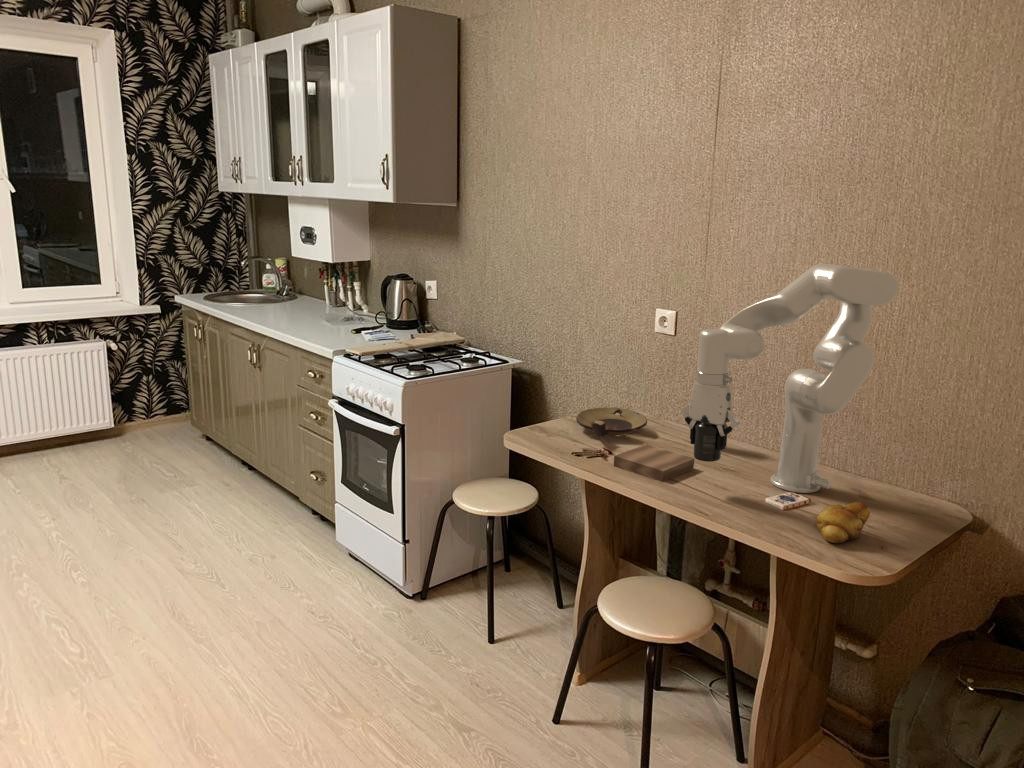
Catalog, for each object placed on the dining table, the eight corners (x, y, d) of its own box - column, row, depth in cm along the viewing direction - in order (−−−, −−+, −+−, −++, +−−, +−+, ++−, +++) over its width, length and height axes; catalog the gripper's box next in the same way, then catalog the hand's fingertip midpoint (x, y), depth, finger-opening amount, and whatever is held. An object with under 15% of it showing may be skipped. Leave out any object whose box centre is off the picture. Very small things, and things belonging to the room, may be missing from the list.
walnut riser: (693, 468, 211) (694, 458, 211) (662, 481, 200) (663, 471, 199) (645, 454, 222) (646, 444, 221) (613, 465, 211) (614, 455, 210)
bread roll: (845, 551, 163) (850, 517, 161) (802, 536, 170) (807, 503, 168) (869, 535, 172) (874, 502, 170) (827, 521, 178) (832, 490, 177)
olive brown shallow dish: (660, 432, 245) (662, 410, 243) (603, 451, 224) (605, 426, 222) (605, 417, 260) (607, 396, 258) (548, 433, 239) (549, 410, 237)
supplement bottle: (725, 457, 193) (728, 412, 190) (712, 464, 188) (715, 418, 185) (701, 451, 198) (703, 407, 195) (688, 458, 193) (690, 413, 190)
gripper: (751, 381, 185) (746, 450, 189) (689, 370, 196) (685, 435, 201) (736, 387, 180) (731, 457, 184) (673, 375, 191) (670, 442, 195)
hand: (707, 445), depth 192 cm, fingers closed on supplement bottle, 6 cm apart
